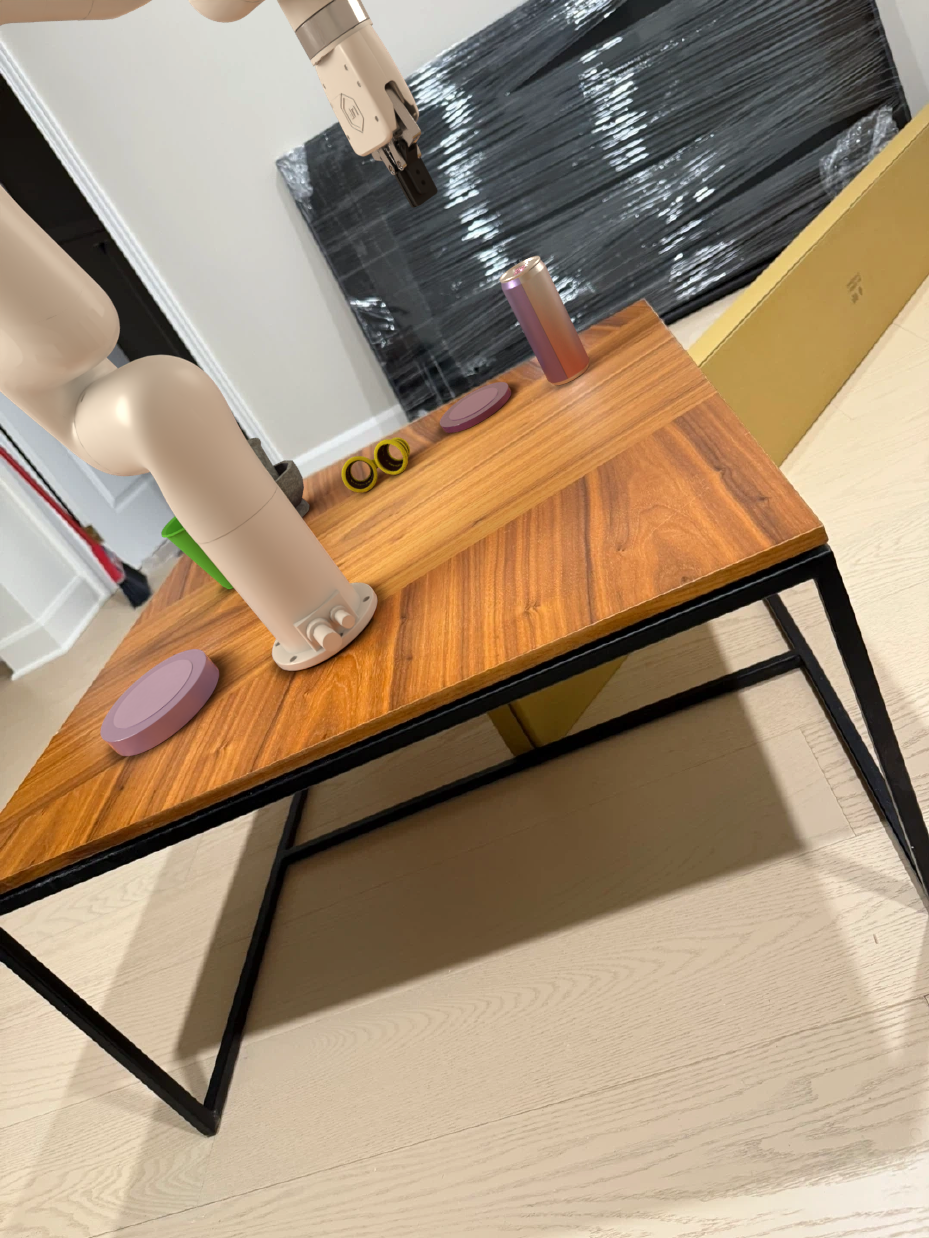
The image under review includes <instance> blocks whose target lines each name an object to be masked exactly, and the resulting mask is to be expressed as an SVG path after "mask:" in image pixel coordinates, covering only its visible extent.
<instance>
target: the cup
mask: <svg viewBox="0 0 929 1238" xmlns="http://www.w3.org/2000/svg"><path fill="white" fill-rule="evenodd" d="M160 533H161V537H162V538H164V539H165V538H166V539H168V540H169V541H170V542H171V543H172V544H173V545H174V546H176V547H177V548H178V549H179V550H180V551H182V553H184V554H185V555H186V556H187V557H188V558H190V559H191V560H192V562H194V563H195V564H196V565H198V567H200V568H201V569H202V570H203V571H205V573H207V574H208V575H209V576H210V577H211V578H212V579H214V581H216V582H217V583H218V584H219V585H220V586H222V587H223V588H225V589H227V590H232V589H234V587H233V586H232V585H231V584H230V582H229V581H228V580H227V579H226V578H225V576H224V575H223V574H222V573H221V572H220V570H219V569H218V568H217V567H216V565H215V564H214V563H213V562H212V561H211V559H210V558H209V557H208V556H207V555H206V553H205V552H204V551H203V550H202V549H201V547H200V546H199V545H198V544H197V543H196V542H195V541H194V539H193V538H192V537H191V536H190V535H189V533H188V532H187V531H186V530H185V528H184V527H183V526H182V524H181V523H180V522H179V520H178V519H177V518H176V516H175V515H174V516H173V517H172V518H171V519H170V520H169V521H168V522H167V523H166V524H165V525H164V526H163V528H162V530H161V532H160Z"/></svg>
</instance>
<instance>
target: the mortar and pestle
mask: <svg viewBox="0 0 929 1238" xmlns="http://www.w3.org/2000/svg"><path fill="white" fill-rule="evenodd" d="M246 440H247V442H248V443H249V445H250V446H251V448H252V450H253V451H254V453H255V454H256V456H257V457H258V459H259V460H260V461H261V463H262V464H263V466H264V467H265V468H266V470H267V471H268V473H269V474H270V475H271V477H272V478H273V479H274V481H275V482H276V484H277V485H278V486H279V487H280V489H281V490H282V491H283V493H284V494H285V495H286V497H287V498H288V500H289V501H290V502H291V504H292V505H293V506H294V508H295V509H296V510H297V512H298V513H299V515H300V516H301V517H302V518H303V517H305V516H306V514H307V513H308V512H309V510H310V504H309V503H308V501H306V499H305V498H303V495H304V490H305V484H304V479H303V475H302V473H301V471H300V469H299V467H298V466H297V464H296V463H295V462H294V460H292V459H289V460H287V459H286V460H285V459H284V460H282V461H280V462H277V463H275V464H273V463H272V461H271V460H270V458H269V456H268V454H267V453H266V451H265V450H264V448H263V446H262V440H261V439H260V438H259V437H252V438H249V439H246Z"/></svg>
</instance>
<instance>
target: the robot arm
mask: <svg viewBox="0 0 929 1238" xmlns="http://www.w3.org/2000/svg"><path fill="white" fill-rule="evenodd" d="M152 1H153V0H0V27H1V26H3V25H7V24H8V25H9V24H25V23H27V24H30V23H43V22H45V23H47V22H68V21H71V22H72V21H78V22H79V21H80V22H81V21H107V20H115V19H117V18H120V17H122V16H125V15H127V14H130V13H131V12H134V11H136V10H138V9H139V8H141V7H144V6H145V5H147V4H148V3H150V2H152ZM187 1H188V3H189V4H190V5H191V6H192V7H193V9H194V10H195V11H197V12H198V13H199V14H200V15H202V16H203V17H205V18H206V19H208V20H210V21H213V22H216V23H221V24H222V23H224V24H225V23H226V24H227V23H229V24H230V23H233V22H237V21H240V20H242V19H244V18H245V17H247V16H248V15H249V14H251V13H252V12H253V11H254V10H255V9H256V8H258V6H260V5H261V4H262V3H264V2H265V1H266V0H187ZM276 2H277V3H278V5H279V7H280V9H281V10H282V12H283V14H284V16H285V18H286V20H287V21H288V23H289V25H290V27H291V29H292V30H293V32H294V33H295V35H296V37H297V40H298V41H299V44H300V45H301V47H302V48H303V50H304V52H305V54H306V56H307V58H308V59H309V61H310V63H311V65H312V67H314V68H315V71H316V74H317V76H318V79H319V82H320V84H321V86H322V89H323V91H324V94H325V96H326V98H327V100H328V103H329V105H330V107H331V108H332V111H333V113H334V115H335V117H336V119H337V121H338V123H339V125H340V127H341V129H342V131H343V132H344V134H345V136H346V138H347V140H348V143H349V144H350V146H351V148H352V149H353V152H354V153H355V154H356V155H358V156H360V157H367V156H368V155H370V154H371V156H372V158H373V159H374V160H375V161H376V162H377V161H378V162H383V163H384V165H385V166H386V169H388V171H389V173H390V174H391V175H392V176H394V178H395V180H396V182H397V184H398V186H399V187H400V190H401V191H402V193H403V195H404V197H405V199H406V200H407V202H408V204H409V206H410V207H411V208H413V209H414V208H417V207H419V206H422V205H423V204H424V203H426V202H427V201H428V200H430V199H431V198H432V197H434V196H435V195H437V194H438V188H437V185H436V184H435V182H434V180H433V178H432V176H431V174H430V172H429V170H428V168H427V166H426V165H425V163H424V160H423V159H422V157H423V156H422V155H423V154H422V152H421V149H420V147H419V146H418V140H419V139H420V137H421V135H422V130H421V129H420V127H419V125H418V124H417V122H418V120H419V116H420V111H419V108H418V105H417V103H416V101H415V98H414V96H413V93H412V92H411V90H410V88H409V86H408V84H407V82H406V81H405V78H404V77H403V75H402V73H401V71H400V70H399V68H398V66H397V64H396V62H395V61H394V59H393V57H392V56H391V53H390V52H389V50H388V49H387V47H386V45H385V44H384V42H383V41H382V39H381V37H380V35H378V33H377V32H376V30H375V29H374V27H373V25H374V23H373V21H372V19H371V18H370V16H369V13H368V12H367V10H366V8H365V6H364V4H363V1H362V0H276ZM120 329H121V326H120V318H119V314H118V311H117V309H116V307H115V305H114V303H113V301H112V299H111V298H110V296H109V295H108V293H107V292H106V291H105V290H104V289H103V288H102V287H101V285H99V284H98V283H97V282H96V281H95V280H94V278H92V276H90V275H89V274H88V273H87V272H86V271H85V269H83V268H82V267H81V266H80V265H79V264H78V263H77V261H75V260H74V259H73V257H72V256H70V255H69V254H68V253H67V252H66V251H65V250H64V249H63V248H62V247H61V246H60V245H59V244H58V243H57V242H56V241H55V240H54V239H53V238H52V237H51V236H50V235H49V234H48V233H47V232H46V231H45V230H44V229H43V228H42V227H41V226H40V225H39V224H38V223H37V222H36V221H35V220H34V219H33V218H32V217H31V216H30V215H29V214H28V213H27V212H26V211H25V210H24V209H23V208H22V207H21V206H20V205H19V204H18V203H17V202H16V200H14V198H12V196H11V195H10V193H8V192H7V191H6V189H5V188H4V187H3V186H2V184H0V393H1V394H2V395H3V396H4V397H6V399H8V400H9V401H11V403H13V404H14V405H15V406H16V407H17V408H18V409H20V410H21V411H22V412H23V413H25V415H27V416H28V417H29V418H30V419H32V420H33V421H34V422H35V423H36V424H38V426H40V427H41V428H42V429H43V430H45V431H46V432H47V434H49V435H50V436H52V437H53V438H54V439H55V440H56V441H58V442H59V443H60V444H61V445H63V446H64V448H66V449H67V450H69V451H70V452H71V453H73V454H74V455H75V456H76V457H78V458H79V459H81V460H82V461H83V462H84V463H86V464H87V465H89V466H90V467H92V468H94V469H96V470H98V471H100V472H102V473H105V474H107V475H111V476H115V477H116V476H117V477H134V476H140V475H145V474H148V473H150V474H151V475H152V477H153V478H154V480H155V482H156V484H157V486H158V487H159V490H160V492H161V494H162V496H163V497H164V500H165V502H166V503H167V505H168V506H169V508H170V510H171V512H172V513H173V515H174V516H176V518H177V519H178V520H179V522H180V523H181V524H182V526H183V527H184V528H185V530H186V531H187V532H188V533H189V535H190V536H191V537H192V538H193V539H194V541H195V542H196V543H197V544H198V545H199V546H200V547H201V549H202V550H203V551H204V552H205V553H206V555H207V556H208V557H209V558H210V559H211V561H212V562H213V563H214V564H215V565H216V567H217V568H218V569H219V570H220V572H221V573H222V574H223V575H224V576H225V578H226V579H227V580H228V581H229V582H230V584H231V585H232V586H233V587H234V588H233V589H234V590H235V591H236V592H237V593H238V595H239V596H240V598H242V600H243V601H244V602H245V603H246V604H247V606H248V607H249V608H250V609H251V610H252V612H253V613H254V614H255V615H256V617H257V618H258V619H259V620H260V621H261V623H262V624H263V625H264V626H265V628H266V629H267V630H268V632H269V633H270V634H271V635H272V636H273V637H274V638H275V640H274V643H273V645H272V649H271V656H272V660H273V661H274V663H276V665H277V666H278V667H279V668H280V669H282V670H284V671H290V672H293V671H300V670H301V671H302V670H306V669H308V668H311V667H314V666H317V665H318V664H321V663H322V662H324V661H327V660H328V659H330V658H331V657H333V656H334V655H336V654H338V653H339V652H340V651H342V650H343V649H344V648H346V647H347V646H348V645H349V644H350V643H352V641H354V640H355V639H356V638H357V637H358V636H359V635H360V634H361V633H362V632H363V631H364V629H365V628H366V627H367V625H368V624H369V622H370V621H371V619H372V618H373V616H374V615H375V611H376V609H377V606H378V596H377V594H376V592H375V591H374V589H373V588H372V587H371V586H370V585H369V584H368V583H365V582H357V581H356V582H350V581H349V579H347V577H346V576H345V574H344V573H343V571H342V570H341V569H340V567H339V566H338V565H337V564H336V563H335V561H334V559H333V558H332V557H331V555H330V553H328V551H327V549H325V547H324V546H323V545H322V543H321V542H320V540H319V539H318V538H317V536H316V535H315V534H314V532H313V531H312V530H311V528H310V527H309V525H308V523H306V521H305V519H304V518H303V517H301V516H300V515H299V513H298V512H297V510H296V509H295V508H294V506H293V505H292V504H291V502H290V501H289V500H288V498H287V497H286V495H285V494H284V493H283V491H282V490H281V489H280V487H279V486H278V485H277V484H276V482H275V481H274V479H273V478H272V477H271V475H270V474H269V473H268V471H267V470H266V468H265V467H264V466H263V464H262V463H261V461H260V460H259V459H258V457H257V456H256V454H255V453H254V451H253V450H252V448H251V446H250V445H249V443H248V442H247V440H248V439H247V438H246V437H245V435H244V433H243V432H242V429H241V428H240V426H239V424H238V422H237V420H236V418H235V416H234V414H233V412H232V410H231V408H230V405H229V403H228V401H227V400H226V398H225V396H224V394H223V393H222V391H221V390H220V388H219V386H218V385H217V383H216V382H215V381H214V379H212V378H211V376H210V375H209V374H208V373H207V372H206V371H205V370H203V369H202V368H200V367H199V366H198V365H196V364H195V363H193V362H191V361H189V360H187V359H184V358H182V357H179V356H174V355H171V354H170V355H169V354H154V355H146V356H143V357H140V358H137V359H134V360H132V361H130V362H127V363H126V364H124V365H121V366H120V367H117V366H116V365H115V363H113V362H112V361H111V360H110V359H109V358H108V357H109V356H110V355H111V354H112V352H113V351H114V350H115V347H116V345H117V343H118V340H119V337H120V331H121V330H120Z"/></svg>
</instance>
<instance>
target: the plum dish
mask: <svg viewBox="0 0 929 1238" xmlns="http://www.w3.org/2000/svg"><path fill="white" fill-rule="evenodd" d="M511 395H512V390H511V388H510V385H508V383H507V382H505V381H498V382H492V383H489V384H486V385H483V386H482V387H480V388H478V389H475V390H474V391H472V392H470V393H468V394H466V395H465V396H463V397H462V398H461V399H459V400H457V401H456V402H455V403H453V404H452V405H451V406H450V407H449V408H448V409H447V410H446V411H445V412H444V414H443V415H442V416H441V417H440V420H439V426H440V428H441V429H442V430H443V432H444V433H447V434H454V433H458V432H462V431H464V430H467V429H470V428H472V427H474V426H476V425H479V424H480V423H481V422H483V421H485V420H486V419H488V418H489V417H491V416H493V415H494V414H495V413H496V412H497V411H499V410H500V409H502V407H503V406H504V405H505V404H506V403H507V402H508V401H509V399H510V397H511Z"/></svg>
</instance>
